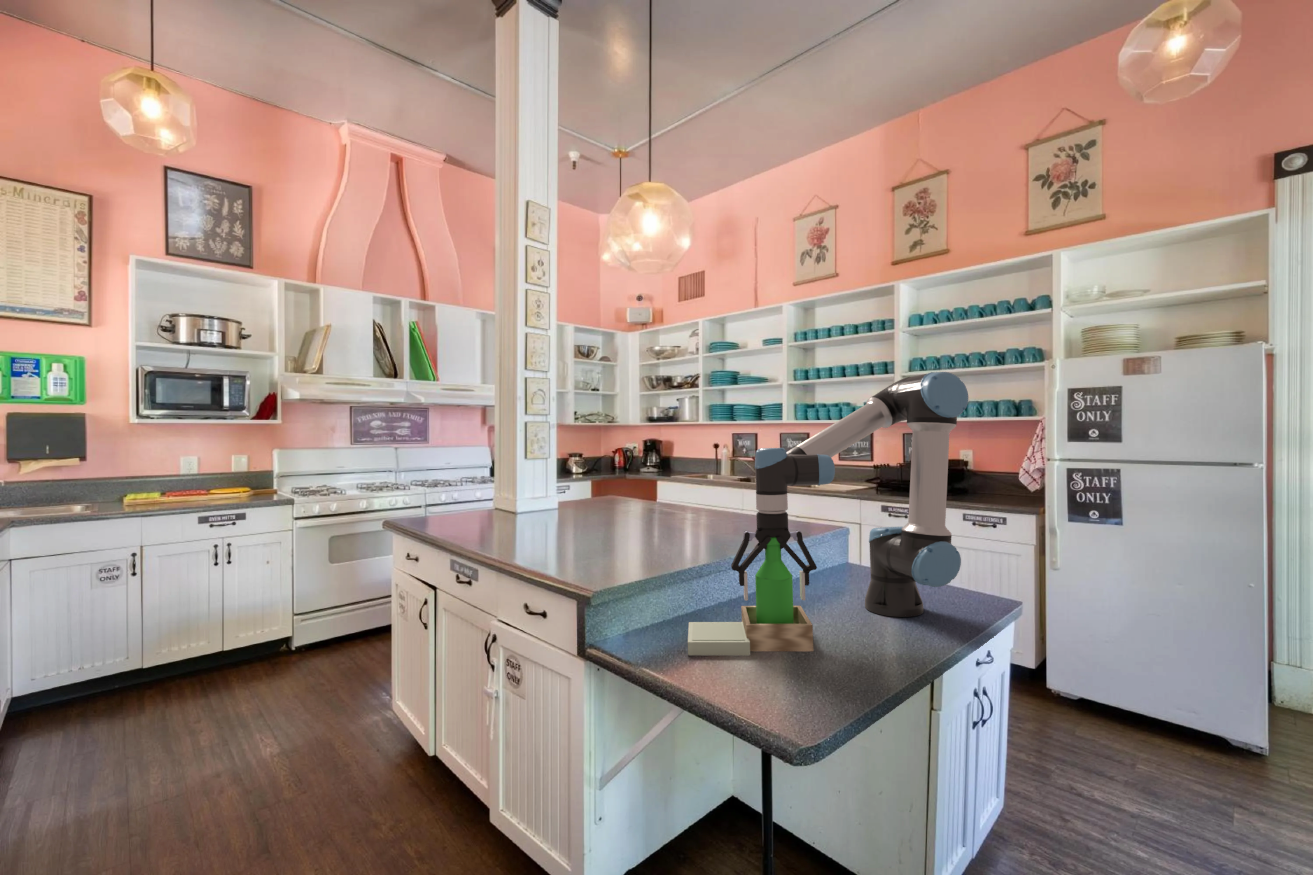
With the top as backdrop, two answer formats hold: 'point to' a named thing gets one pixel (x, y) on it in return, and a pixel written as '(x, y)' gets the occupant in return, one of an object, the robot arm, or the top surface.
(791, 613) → the bottle
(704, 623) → the stand block
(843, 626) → the top surface
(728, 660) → the top surface
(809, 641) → the open square wooden frame
